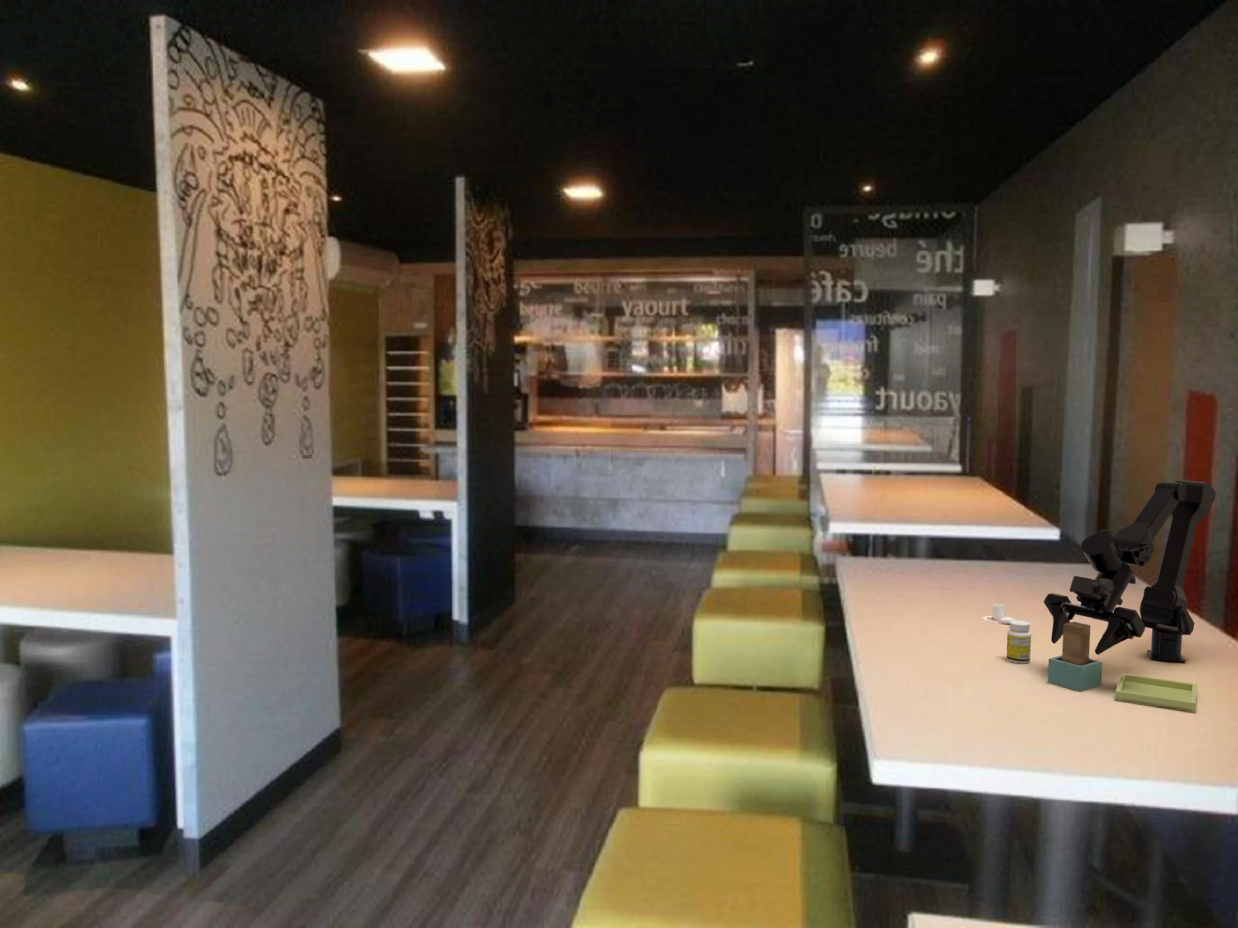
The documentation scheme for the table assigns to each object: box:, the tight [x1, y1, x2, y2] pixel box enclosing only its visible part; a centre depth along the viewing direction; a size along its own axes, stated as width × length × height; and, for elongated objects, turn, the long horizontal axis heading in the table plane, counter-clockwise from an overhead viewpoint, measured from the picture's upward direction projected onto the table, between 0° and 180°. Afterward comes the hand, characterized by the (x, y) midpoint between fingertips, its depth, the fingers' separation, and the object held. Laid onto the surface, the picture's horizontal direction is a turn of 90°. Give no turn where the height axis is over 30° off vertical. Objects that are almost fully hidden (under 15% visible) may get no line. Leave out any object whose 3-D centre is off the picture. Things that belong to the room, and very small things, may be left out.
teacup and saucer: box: [982, 603, 1016, 625], centre depth 243 cm, size 9×8×4 cm
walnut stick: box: [1061, 621, 1091, 666], centre depth 192 cm, size 4×4×12 cm
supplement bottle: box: [1006, 619, 1032, 665], centre depth 208 cm, size 5×5×8 cm
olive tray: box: [1114, 673, 1198, 714], centre depth 185 cm, size 13×13×2 cm
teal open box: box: [1047, 654, 1103, 692], centre depth 192 cm, size 7×7×5 cm
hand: (1074, 647), depth 192 cm, fingers open, 9 cm apart
